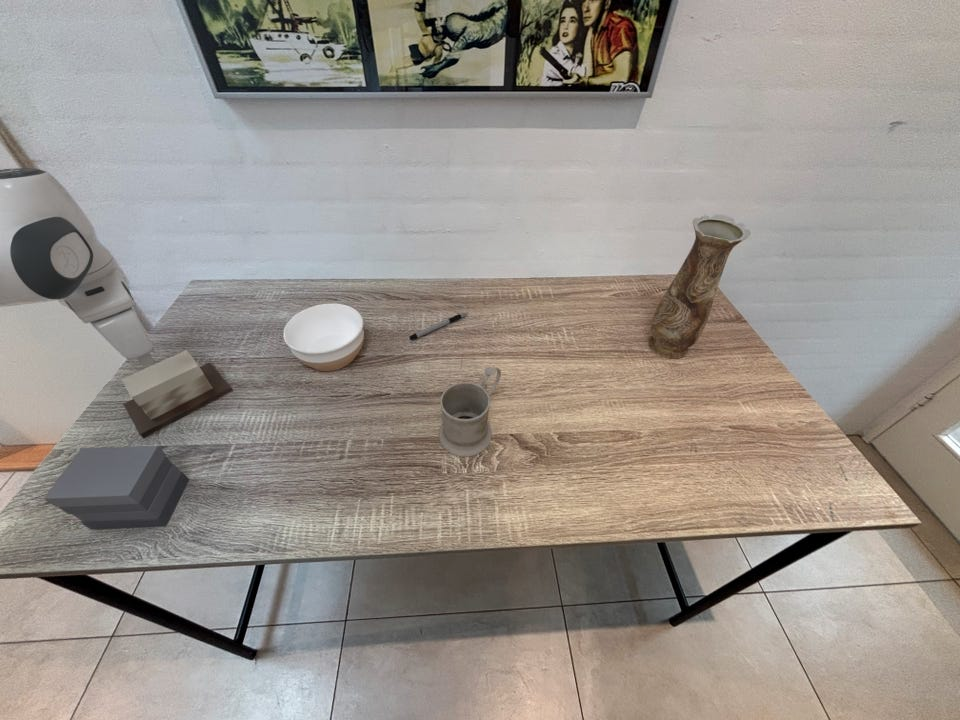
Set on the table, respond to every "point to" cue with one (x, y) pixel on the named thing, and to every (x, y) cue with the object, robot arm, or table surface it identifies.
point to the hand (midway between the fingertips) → (139, 349)
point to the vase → (694, 286)
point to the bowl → (325, 336)
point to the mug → (472, 402)
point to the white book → (162, 377)
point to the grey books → (119, 487)
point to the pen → (437, 326)
